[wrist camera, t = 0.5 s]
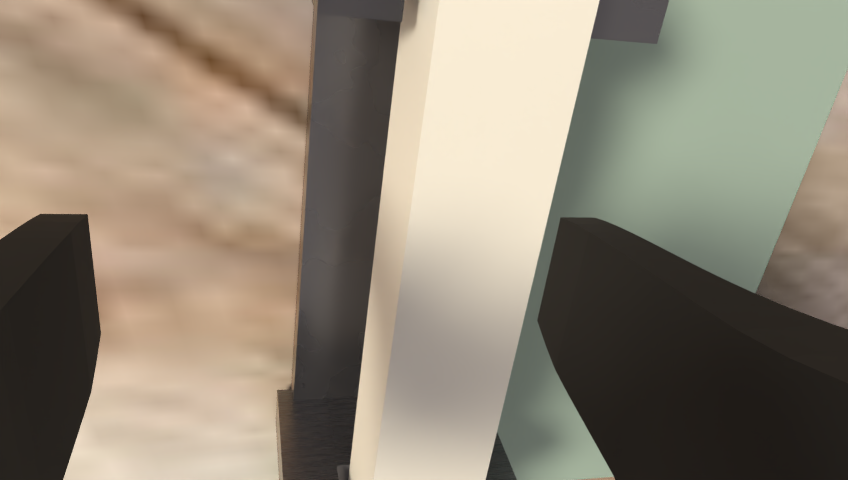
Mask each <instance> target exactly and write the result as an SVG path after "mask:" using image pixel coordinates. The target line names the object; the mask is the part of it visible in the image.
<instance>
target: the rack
mask: <svg viewBox="0 0 848 480" xmlns="http://www.w3.org/2000/svg"><path fill="white" fill-rule="evenodd" d="M404 1H405V0H312V3H313V5H314V11H313V28H312V45H311V62H310V79H309V95H308V112H307V129H306V146H305V163H304V180H303V197H302V214H301V231H300V248H299V265H298V282H297V299H296V316H295V333H294V350H293V367H292V384H291V390H277V409H276V433H277V451H278V468H279V480H348V477H349V469H350V460H351V451H352V443H353V434H354V425H355V416H356V408H357V399H358V390H359V382H360V373H361V364H362V355H363V347H364V338H365V329H366V321H367V312H368V303H369V295H370V286H371V277H372V268H373V260H374V251H375V242H376V234H377V225H378V216H379V207H380V199H381V190H382V181H383V173H384V164H385V155H386V146H387V138H388V129H389V120H390V112H391V103H392V94H393V85H394V77H395V68H396V59H397V51H398V42H399V33H400V24H401V22H402V19H403V10H404ZM668 3H669V0H600V1H599V5H598V9H597V13H596V17H595V22H594V26H593V30H592V34H591V38H592V39H604V40H615V41H627V42H638V43H650V44H657V42H658V39H659V35H660V32H661V28H662V24H663V21H664V17H665V14H666V10H667V7H668ZM486 480H517V479H516V476H515V474H514V472H513V469H512V467H511V464H510V462H509V459H508V457H507V455H506V452H505V450H504V447H503V445H502V442H501V440H500V438H499V435H498V433H497V434H496V438H495V442H494V447H493V451H492V455H491V459H490V463H489V468H488V472H487V476H486Z"/></svg>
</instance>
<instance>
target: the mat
mask: <svg viewBox="0 0 848 480" xmlns="http://www.w3.org/2000/svg"><path fill="white" fill-rule="evenodd" d="M847 69H848V0H669V3H668V7H667V10H666V14H665V17H664V21H663V24H662V28H661V32H660V35H659V39H658V42H657V44H650V43H638V42H627V41H615V40H604V39H592V38H590V43H589V47H588V51H587V55H586V59H585V64H584V68H583V72H582V76H581V81H580V85H579V89H578V93H577V97H576V102H575V106H574V110H573V114H572V118H571V123H570V127H569V131H568V135H567V139H566V144H565V148H564V152H563V156H562V160H561V165H560V169H559V173H558V177H557V182H556V186H555V190H554V194H553V198H552V203H551V207H550V211H549V215H548V219H547V224H546V228H545V232H544V236H543V240H542V245H541V249H540V253H539V257H538V261H537V266H536V270H535V274H534V278H533V282H532V287H531V291H530V295H529V299H528V304H527V308H526V312H525V316H524V320H523V325H522V329H521V333H520V337H519V341H518V346H517V350H516V354H515V358H514V362H513V367H512V371H511V375H510V379H509V383H508V388H507V392H506V396H505V400H504V405H503V409H502V413H501V417H500V421H499V426H498V430H497V433H498V435H499V438H500V440H501V442H502V445H503V447H504V450H505V452H506V455H507V457H508V459H509V462H510V464H511V467H512V469H513V472H514V474H515V476H516V479H517V480H577V479H590V478H604V477H614V476H613V474H612V472H611V470H610V469H609V467H608V465H607V463H606V461H605V460H604V458H603V456H602V454H601V453H600V451H599V449H598V447H597V445H596V444H595V442H594V440H593V438H592V436H591V435H590V433H589V431H588V429H587V427H586V426H585V424H584V422H583V420H582V419H581V417H580V415H579V413H578V411H577V410H576V408H575V406H574V404H573V402H572V400H571V399H570V397H569V395H568V393H567V391H566V389H565V388H564V386H563V384H562V382H561V380H560V378H559V376H558V374H557V372H556V371H555V368H554V366H553V363H552V361H551V358H550V355H549V353H548V350H547V348H546V345H545V342H544V339H543V336H542V333H541V330H540V327H539V324H538V321H537V319H538V314H539V310H540V305H541V301H542V297H543V292H544V288H545V284H546V279H547V275H548V270H549V266H550V262H551V257H552V253H553V249H554V244H555V240H556V235H557V231H558V227H559V222H560V218H561V217H592V218H598V219H601V220H604V221H606V222H609V223H611V224H614V225H616V226H618V227H621V228H623V229H625V230H627V231H629V232H631V233H633V234H635V235H637V236H639V237H641V238H643V239H645V240H647V241H649V242H651V243H653V244H655V245H657V246H659V247H661V248H663V249H665V250H667V251H669V252H671V253H673V254H675V255H677V256H679V257H681V258H682V259H684V260H686V261H688V262H690V263H692V264H694V265H696V266H698V267H700V268H702V269H704V270H706V271H708V272H710V273H712V274H714V275H716V276H719V277H721V278H723V279H725V280H727V281H729V282H731V283H733V284H735V285H738V286H740V287H742V288H744V289H746V290H749V291H751V292H753V293H756V291H757V288H758V286H759V283H760V281H761V279H762V276H763V274H764V271H765V269H766V266H767V264H768V262H769V259H770V257H771V254H772V252H773V249H774V247H775V244H776V242H777V240H778V237H779V235H780V232H781V230H782V227H783V225H784V223H785V220H786V218H787V215H788V213H789V210H790V208H791V205H792V203H793V201H794V198H795V196H796V193H797V191H798V188H799V186H800V184H801V181H802V179H803V176H804V174H805V171H806V169H807V167H808V164H809V162H810V159H811V157H812V154H813V152H814V149H815V147H816V145H817V142H818V140H819V137H820V135H821V132H822V130H823V128H824V125H825V123H826V120H827V118H828V115H829V113H830V110H831V108H832V106H833V103H834V101H835V98H836V96H837V93H838V91H839V89H840V86H841V84H842V81H843V79H844V76H845V74H846V72H847Z"/></svg>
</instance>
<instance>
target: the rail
mask: <svg viewBox="0 0 848 480" xmlns="http://www.w3.org/2000/svg"><path fill="white" fill-rule="evenodd" d="M599 1H600V0H405V1H404V10H403V19H402V22H401V24H400V33H399V42H398V51H397V59H396V68H395V77H394V85H393V94H392V103H391V112H390V120H389V129H388V138H387V146H386V155H385V164H384V173H383V181H382V190H381V199H380V207H379V216H378V225H377V234H376V242H375V251H374V260H373V268H372V277H371V286H370V295H369V303H368V312H367V321H366V329H365V338H364V347H363V355H362V364H361V373H360V382H359V390H358V399H357V408H356V416H355V425H354V434H353V443H352V451H351V460H350V469H349V477H348V480H486V476H487V472H488V468H489V463H490V459H491V455H492V451H493V447H494V442H495V438H496V434H497V430H498V426H499V421H500V417H501V413H502V409H503V405H504V400H505V396H506V392H507V388H508V383H509V379H510V375H511V371H512V367H513V362H514V358H515V354H516V350H517V346H518V341H519V337H520V333H521V329H522V325H523V320H524V316H525V312H526V308H527V304H528V299H529V295H530V291H531V287H532V282H533V278H534V274H535V270H536V266H537V261H538V257H539V253H540V249H541V245H542V240H543V236H544V232H545V228H546V224H547V219H548V215H549V211H550V207H551V203H552V198H553V194H554V190H555V186H556V182H557V177H558V173H559V169H560V165H561V160H562V156H563V152H564V148H565V144H566V139H567V135H568V131H569V127H570V123H571V118H572V114H573V110H574V106H575V102H576V97H577V93H578V89H579V85H580V81H581V76H582V72H583V68H584V64H585V59H586V55H587V51H588V47H589V43H590V38H591V34H592V30H593V26H594V22H595V17H596V13H597V9H598V5H599Z"/></svg>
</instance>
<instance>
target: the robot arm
mask: <svg viewBox="0 0 848 480" xmlns="http://www.w3.org/2000/svg"><path fill="white" fill-rule="evenodd" d="M537 321H538V324H539V327H540V330H541V333H542V336H543V339H544V342H545V345H546V348H547V350H548V353H549V355H550V358H551V361H552V363H553V366H554V368H555V371H556V372H557V374H558V376H559V378H560V380H561V382H562V384H563V386H564V388H565V389H566V391H567V393H568V395H569V397H570V399H571V400H572V402H573V404H574V406H575V408H576V410H577V411H578V413H579V415H580V417H581V419H582V420H583V422H584V424H585V426H586V427H587V429H588V431H589V433H590V435H591V436H592V438H593V440H594V442H595V444H596V445H597V447H598V449H599V451H600V453H601V454H602V456H603V458H604V460H605V461H606V463H607V465H608V467H609V469H610V470H611V472H612V474H613V476H614V478H615V480H848V329H845V328H842V327H839V326H836V325H833V324H830V323H827V322H825V321H822V320H819V319H817V318H814V317H812V316H809V315H806V314H804V313H801V312H798V311H796V310H793V309H790V308H788V307H785V306H783V305H781V304H778V303H776V302H773V301H771V300H769V299H766V298H764V297H762V296H760V295H757V294H755V293H753V292H751V291H749V290H746V289H744V288H742V287H740V286H738V285H735V284H733V283H731V282H729V281H727V280H725V279H723V278H721V277H719V276H716V275H714V274H712V273H710V272H708V271H706V270H704V269H702V268H700V267H698V266H696V265H694V264H692V263H690V262H688V261H686V260H684V259H682V258H681V257H679V256H677V255H675V254H673V253H671V252H669V251H667V250H665V249H663V248H661V247H659V246H657V245H655V244H653V243H651V242H649V241H647V240H645V239H643V238H641V237H639V236H637V235H635V234H633V233H631V232H629V231H627V230H625V229H623V228H621V227H618V226H616V225H614V224H611V223H609V222H606V221H604V220H601V219H598V218H592V217H561V218H560V222H559V227H558V231H557V235H556V240H555V244H554V249H553V253H552V257H551V262H550V266H549V270H548V275H547V279H546V284H545V288H544V292H543V297H542V301H541V305H540V310H539V314H538V319H537ZM100 335H101V331H100V322H99V313H98V304H97V295H96V286H95V277H94V268H93V259H92V250H91V241H90V233H89V224H88V215H87V214H40V215H38V216H36V217H34V218H32V219H31V220H29V221H27V222H26V223H24V224H23V225H21V226H20V227H18V228H17V229H15V230H14V231H12V232H11V233H9V234H8V235H6V236H5V237H3V238H2V239H0V480H63V478H64V475H65V472H66V469H67V466H68V463H69V459H70V456H71V453H72V450H73V447H74V444H75V441H76V438H77V435H78V432H79V429H80V425H81V422H82V419H83V416H84V413H85V410H86V407H87V403H88V400H89V397H90V394H91V389H92V384H93V378H94V372H95V367H96V361H97V354H98V348H99V342H100Z"/></svg>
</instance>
